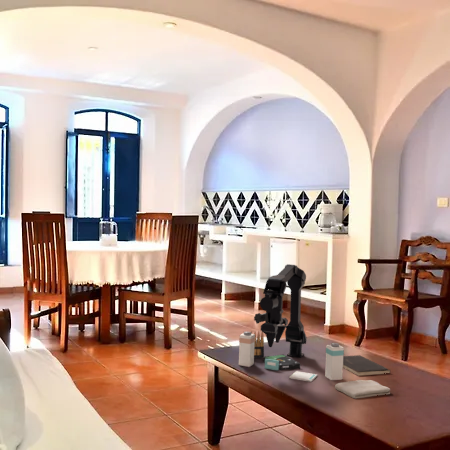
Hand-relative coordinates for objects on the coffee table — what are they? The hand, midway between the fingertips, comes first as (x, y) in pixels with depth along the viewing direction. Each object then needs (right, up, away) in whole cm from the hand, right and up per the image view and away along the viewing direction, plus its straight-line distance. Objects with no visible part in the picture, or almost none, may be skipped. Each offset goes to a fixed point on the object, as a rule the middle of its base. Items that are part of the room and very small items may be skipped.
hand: (273, 344), depth 235 cm
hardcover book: (+38, -13, +11) cm, 42 cm away
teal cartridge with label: (-1, -11, +3) cm, 11 cm away
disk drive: (+4, -12, +10) cm, 16 cm away
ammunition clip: (-8, -10, +20) cm, 24 cm away
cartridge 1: (-11, -10, +9) cm, 17 cm away
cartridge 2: (+24, -12, -6) cm, 27 cm away
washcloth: (+32, -14, -22) cm, 41 cm away
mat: (+11, -12, -7) cm, 18 cm away
